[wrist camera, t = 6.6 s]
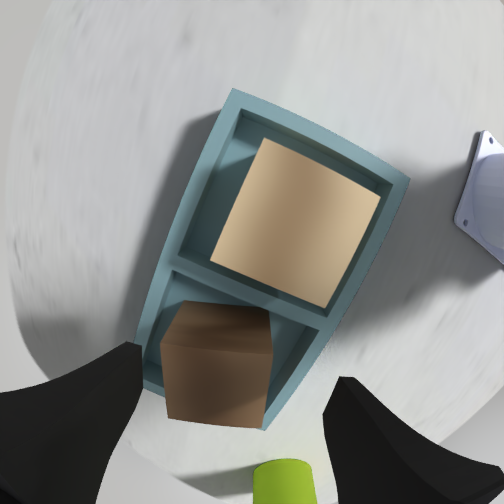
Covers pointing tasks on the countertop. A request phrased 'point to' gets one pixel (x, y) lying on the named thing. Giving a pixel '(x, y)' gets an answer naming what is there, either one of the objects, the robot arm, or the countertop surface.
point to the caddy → (241, 286)
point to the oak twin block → (294, 224)
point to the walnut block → (217, 364)
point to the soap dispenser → (284, 483)
